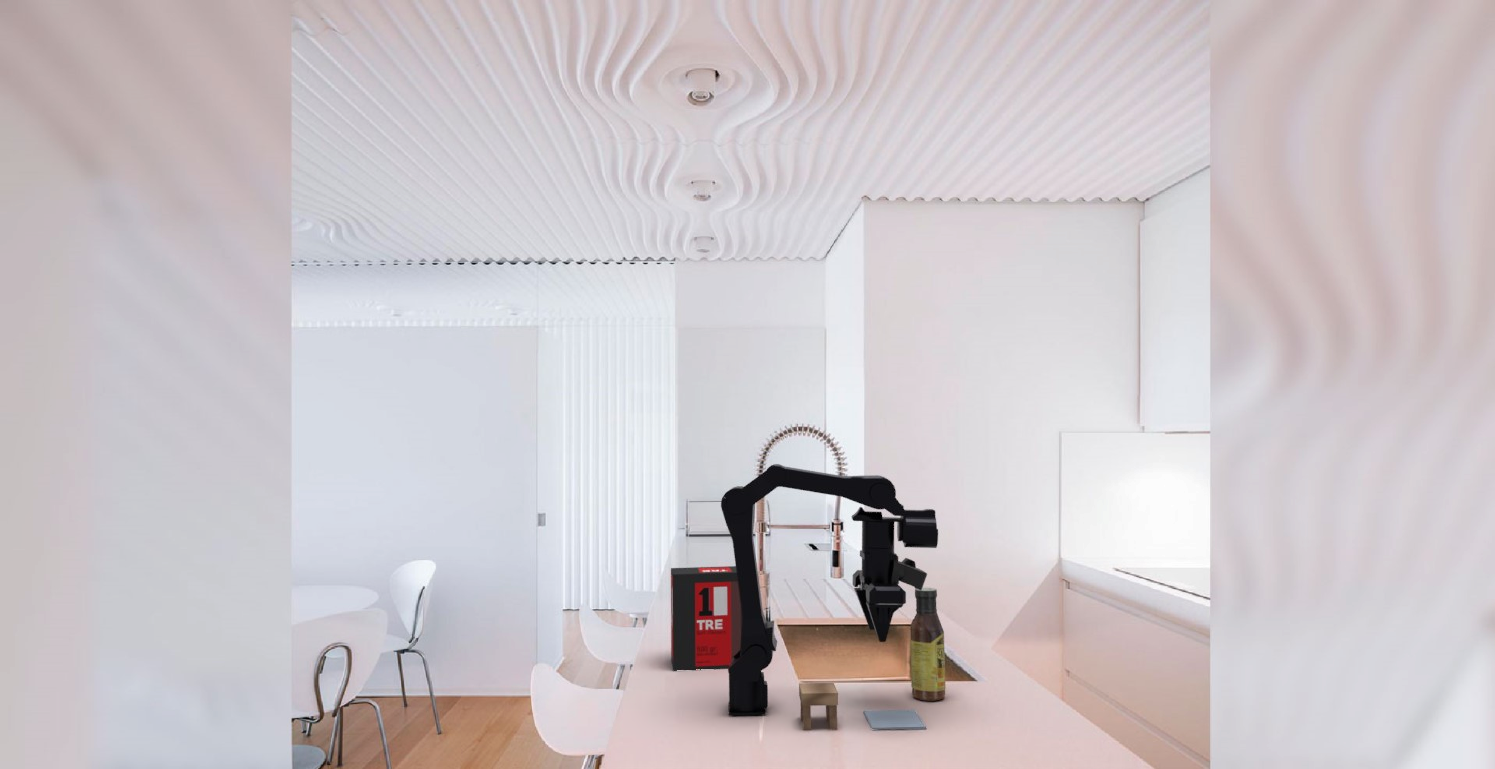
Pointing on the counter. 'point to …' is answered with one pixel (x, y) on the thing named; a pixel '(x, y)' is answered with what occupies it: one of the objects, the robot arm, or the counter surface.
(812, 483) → the robot arm
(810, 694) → the stool
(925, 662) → the sauce bottle
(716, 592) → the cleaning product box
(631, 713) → the counter surface
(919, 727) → the pad
